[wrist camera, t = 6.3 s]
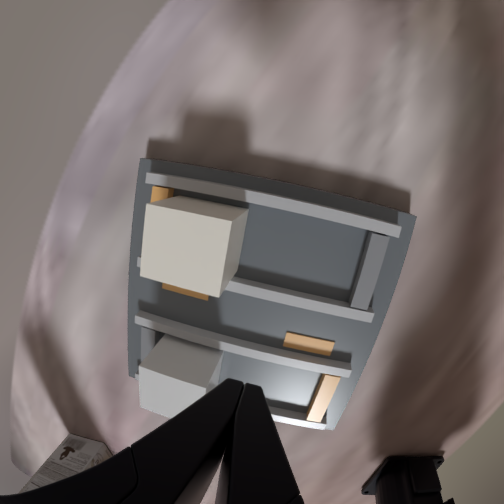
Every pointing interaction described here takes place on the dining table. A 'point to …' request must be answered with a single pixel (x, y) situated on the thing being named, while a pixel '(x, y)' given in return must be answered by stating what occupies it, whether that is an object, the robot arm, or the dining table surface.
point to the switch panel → (277, 288)
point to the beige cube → (192, 243)
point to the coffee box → (68, 461)
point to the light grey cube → (177, 375)
